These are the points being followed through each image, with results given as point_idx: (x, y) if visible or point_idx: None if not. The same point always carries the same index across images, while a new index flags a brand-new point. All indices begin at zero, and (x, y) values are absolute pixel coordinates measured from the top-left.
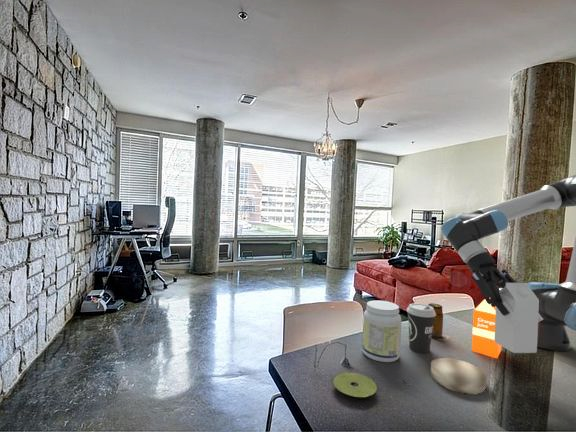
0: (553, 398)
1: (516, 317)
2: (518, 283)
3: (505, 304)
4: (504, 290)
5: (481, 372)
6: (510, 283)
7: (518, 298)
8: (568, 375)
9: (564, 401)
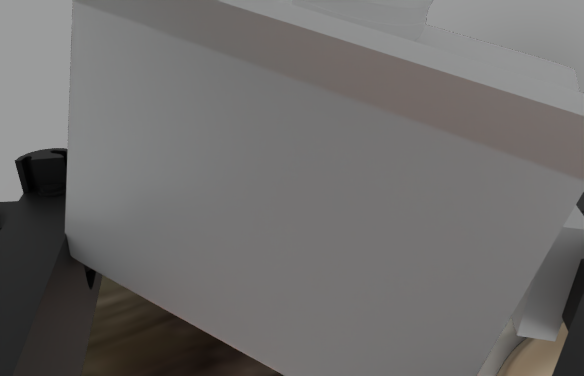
0: None
1: None
2: (261, 5)
3: (580, 211)
4: (423, 291)
5: (533, 366)
6: (488, 78)
7: (499, 52)
8: None
9: None
